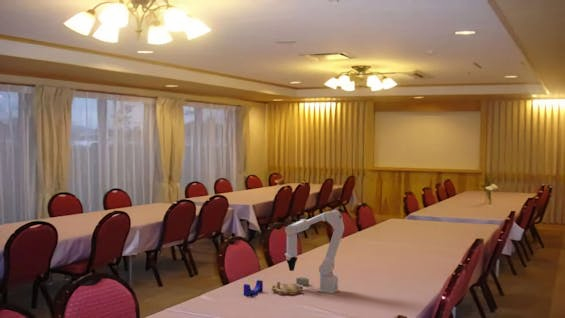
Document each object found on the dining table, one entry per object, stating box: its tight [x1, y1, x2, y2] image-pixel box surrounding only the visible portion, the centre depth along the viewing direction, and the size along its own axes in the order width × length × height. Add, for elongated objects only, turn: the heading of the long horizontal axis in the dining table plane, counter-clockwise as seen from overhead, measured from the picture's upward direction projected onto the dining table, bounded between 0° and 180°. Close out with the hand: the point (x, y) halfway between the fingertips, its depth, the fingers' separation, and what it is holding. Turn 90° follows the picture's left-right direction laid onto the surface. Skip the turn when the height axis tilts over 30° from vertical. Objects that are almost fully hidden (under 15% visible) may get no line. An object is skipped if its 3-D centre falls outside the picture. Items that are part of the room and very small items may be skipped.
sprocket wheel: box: [271, 281, 304, 296], centre depth 301 cm, size 17×17×5 cm
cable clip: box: [243, 279, 264, 298], centre depth 296 cm, size 12×4×6 cm, turn 142°
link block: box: [295, 276, 310, 287], centre depth 315 cm, size 6×4×4 cm, turn 41°
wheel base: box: [275, 292, 299, 296], centre depth 301 cm, size 13×13×1 cm
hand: (291, 270), depth 309 cm, fingers closed
